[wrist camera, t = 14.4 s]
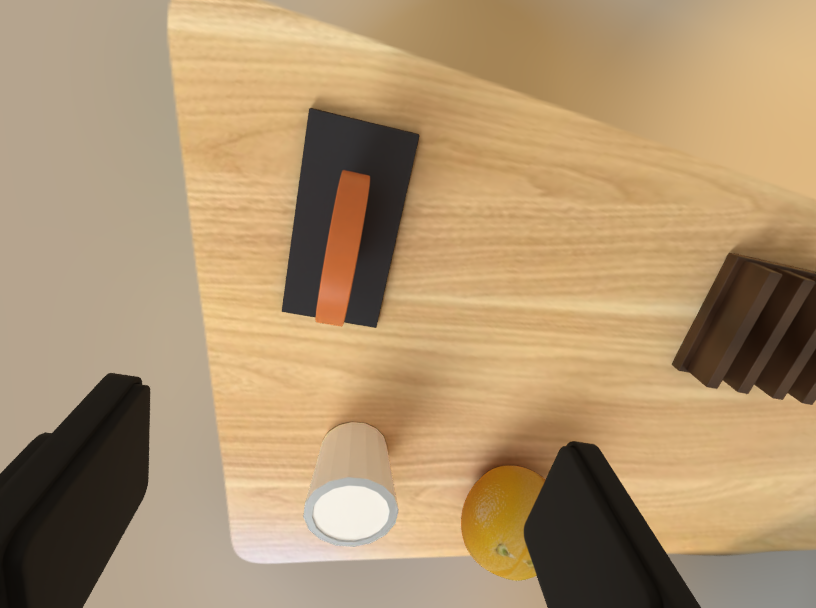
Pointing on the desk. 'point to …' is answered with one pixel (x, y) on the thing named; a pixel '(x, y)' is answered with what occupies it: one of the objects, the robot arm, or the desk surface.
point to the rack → (756, 330)
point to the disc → (342, 248)
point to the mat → (320, 174)
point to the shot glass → (351, 487)
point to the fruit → (501, 520)
